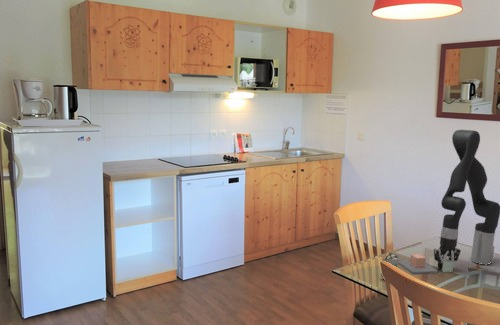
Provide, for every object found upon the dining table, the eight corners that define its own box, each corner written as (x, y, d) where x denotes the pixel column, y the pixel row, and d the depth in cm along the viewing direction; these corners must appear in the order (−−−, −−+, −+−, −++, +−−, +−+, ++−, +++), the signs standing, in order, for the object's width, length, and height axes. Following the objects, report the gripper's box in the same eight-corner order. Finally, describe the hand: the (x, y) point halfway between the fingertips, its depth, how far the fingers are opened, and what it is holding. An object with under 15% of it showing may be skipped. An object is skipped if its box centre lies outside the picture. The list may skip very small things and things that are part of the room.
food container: (393, 283, 197) (396, 262, 196) (380, 279, 200) (382, 259, 199) (400, 274, 208) (402, 254, 206) (387, 271, 211) (389, 251, 209)
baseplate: (420, 261, 226) (420, 259, 226) (438, 272, 212) (438, 270, 212) (396, 262, 222) (396, 260, 222) (412, 274, 209) (412, 272, 209)
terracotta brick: (418, 263, 220) (419, 254, 220) (424, 267, 216) (425, 257, 215) (409, 263, 219) (410, 254, 218) (415, 267, 214) (416, 258, 214)
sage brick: (445, 267, 220) (447, 258, 219) (452, 271, 215) (453, 262, 214) (437, 268, 218) (438, 258, 218) (443, 272, 214) (445, 262, 213)
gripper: (456, 233, 219) (452, 265, 222) (431, 234, 216) (427, 266, 218) (467, 238, 212) (462, 271, 215) (441, 239, 209) (437, 272, 211)
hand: (444, 268), depth 217 cm, fingers closed on sage brick, 5 cm apart
